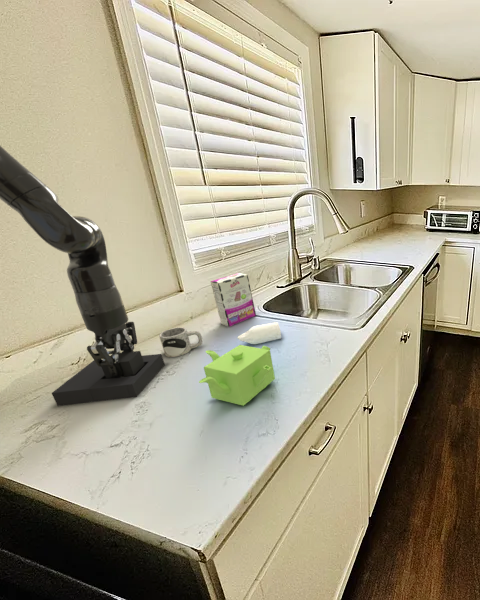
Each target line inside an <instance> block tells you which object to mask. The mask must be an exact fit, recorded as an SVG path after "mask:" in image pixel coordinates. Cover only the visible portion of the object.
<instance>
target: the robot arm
mask: <svg viewBox="0 0 480 600" xmlns="http://www.w3.org/2000/svg"><path fill="white" fill-rule="evenodd" d="M0 200H1V201H2V202H3V203H4V204H6V205H7V206H9V208H11V209H12V210H14V211H15V212H16V213H18V214H19V215H20V216H21V218H22V219H23V220H24V222H25V223H26V224H27V225H28V226H29V227H30V228H31V229H32V230H33V231H34V232H35V233H36V234H37V236H39V237H40V239H42V240H43V241H44V242H45V243H46V244H48V245H49V246H50V247H52V248H54V249H55V250H57V251H60V252H63V253H66V254H67V256H68V261H69V263H68V266H67V267H66V275H67V278H68V280H69V283H70V286H71V289H72V290H73V293H74V298H75V299H74V300H75V302H76V305H77V308H78V310H79V312H80V315H81V318H82V320H83V322H84V325H85V328H86V330H87V331H90V332H92V333H94V340H95V341H94V343H93V344H92V345H88V346H86V351H87V352H88V353H89V355H90V356H91V358H92V359H93V361H95V362H96V364H97V365H98V366H99V367H100V366H108V369H109V371H110V374H111V376H112V377H122V376H123V375H124V373H123V370H122V367H121V364H120V362H119V357H118V353H123V352H134V349H135V345H137V344H138V338H137V331H136V326H135V322H134V321H129V317H128V314H127V310H126V308H125V304H124V302H123V298H122V296H121V292H120V291H119V289H118V288H117V285H116V283H115V279H114V277H113V274H112V271H111V269H110V266H109V260H108V253H107V251H108V250H107V246H106V240H105V236H104V234H103V232H102V230H101V228H100V226H99V225H98V224H97V223H96V222H95V221H94V220H92V219H91V218H88V217H86V216H81V215H75V216H74V215H71V214H70V213H69V212H68V211H67V210H66V209H65V208H64V207H63V206H62V205H61V204H60V203H59V197H58V195H57V194H56V192H54V190H52V189H51V188H50V187H49V186H47V185H46V184H45V183H44V182H43V181H42V180H41V179H39V177H38V176H36V175H35V174H34V173H33V172H31V171H30V170H29V169H28V168H27V167H26V166H24V165H23V164H22V163H21V162H20V161H18V160H17V158H15V157H14V156H13V155H12V154H11V153H9V152H8V151H7V150H6V149H5V148H4V147H3V146H2V145H0ZM111 355H113V359H111V357H110V356H111ZM102 360H103V361H102ZM123 377H124V376H123Z"/></svg>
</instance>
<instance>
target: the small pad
mask: <svg viewBox="0 0 480 600" xmlns="http://www.w3.org/2000/svg"><path fill="white" fill-rule="evenodd" d="M133 351H134V350H133ZM122 352H123V351H122ZM109 356H110V357H111V359H113V355H112V354H110V355H109ZM142 356H143V355H142V352H141V350H135V351H134V352H123V353H121V352H120V353H118V357H119V362H120V364H121V367H122V370H123V373H124V375H123V377H128V376H135V374H136V373H137V372H138V371H139V370H140V369H141V368H142V367H143V366H144V365H145V364H144V361H143V358H142ZM101 367H102V370H103V372H104V375H105V377H106V378H113V377H112V376H111V374H110V371H109V369H108V366H101Z"/></svg>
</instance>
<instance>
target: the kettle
mask: <svg viewBox="0 0 480 600" xmlns="http://www.w3.org/2000/svg"><path fill="white" fill-rule="evenodd" d="M205 353H206V354H207V355H208V356H209V357H210V358H211V359H212V361H211V362H209V363H208V364H207V365H205V366H204V367H203V370H204V375H205V377H204V378H202V379H200V380H199V381H198V383H200V384H204V383H206V384H207V385H208V389H209V393H210V397H211V399H215V400H219V401H223V402H227V403H231V404H235V405H238V406H243V407H244V406H245V405H247V403H249V402H250V401H252V399H253V398H255V397H256V396H257V395H259V393H260V392H262V391H263V390H265V389H266V388H267V387H268V385H270V384H271V383H272V382H273V381H274V380H276V376H275V371H274V364H273V358H272V353H271V348H270V347H269V346H267V345H262V346H261V348H260V347H254V346H250V345H249V346H248V345H242V344H239V345H237V346H236V347H234V348H232V349H231V350H229V351H227V352H225V353H224V354H221V356H220V354H218V353H217V352H216V351H214V350H211V349H208V350H205Z"/></svg>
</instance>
